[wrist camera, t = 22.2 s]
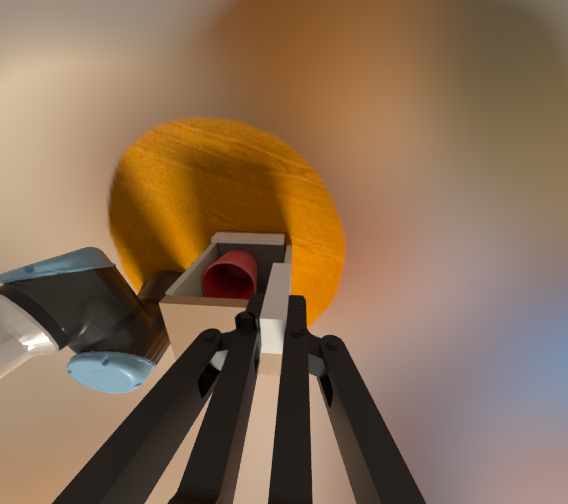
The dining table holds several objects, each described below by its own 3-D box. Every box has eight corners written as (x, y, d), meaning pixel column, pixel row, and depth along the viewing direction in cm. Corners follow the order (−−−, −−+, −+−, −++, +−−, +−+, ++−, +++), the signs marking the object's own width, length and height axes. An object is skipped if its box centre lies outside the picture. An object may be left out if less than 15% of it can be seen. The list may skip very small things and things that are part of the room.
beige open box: (219, 293, 55) (178, 367, 37) (212, 242, 49) (157, 300, 30) (290, 296, 54) (285, 375, 35) (292, 245, 48) (286, 307, 29)
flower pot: (270, 250, 48) (263, 272, 39) (257, 288, 53) (248, 316, 44) (223, 234, 47) (205, 254, 38) (214, 275, 52) (196, 301, 43)
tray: (225, 286, 54) (219, 296, 50) (218, 230, 48) (210, 238, 44) (284, 288, 53) (282, 300, 49) (284, 233, 47) (283, 240, 43)
